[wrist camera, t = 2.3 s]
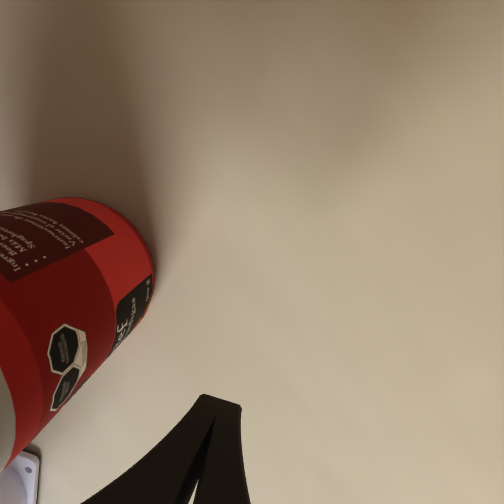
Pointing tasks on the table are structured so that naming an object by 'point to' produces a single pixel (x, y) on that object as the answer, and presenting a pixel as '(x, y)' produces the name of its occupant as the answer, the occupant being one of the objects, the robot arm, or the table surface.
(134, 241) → the canned food
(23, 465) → the robot arm
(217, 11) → the table surface
